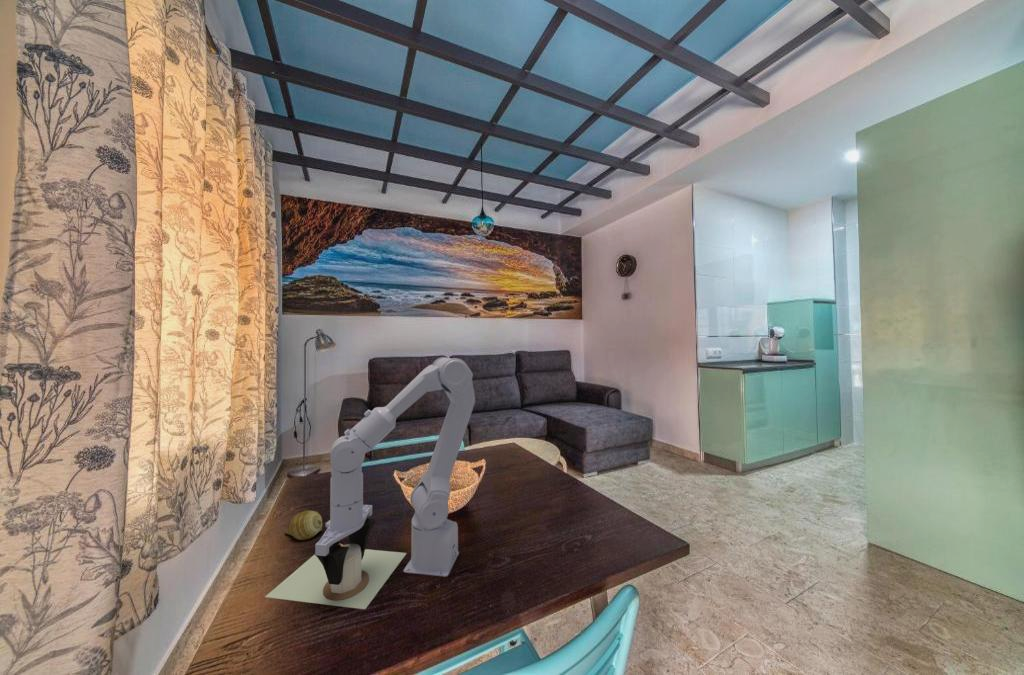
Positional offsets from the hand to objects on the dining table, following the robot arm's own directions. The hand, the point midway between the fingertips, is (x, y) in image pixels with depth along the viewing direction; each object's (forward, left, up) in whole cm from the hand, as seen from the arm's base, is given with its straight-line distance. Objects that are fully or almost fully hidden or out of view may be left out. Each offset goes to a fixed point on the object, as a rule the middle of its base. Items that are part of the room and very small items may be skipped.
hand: (346, 570), depth 65 cm
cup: (0, 0, -2) cm, 2 cm away
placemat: (+3, -3, -3) cm, 5 cm away
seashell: (+22, -15, -3) cm, 27 cm away
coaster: (0, 0, -3) cm, 3 cm away
